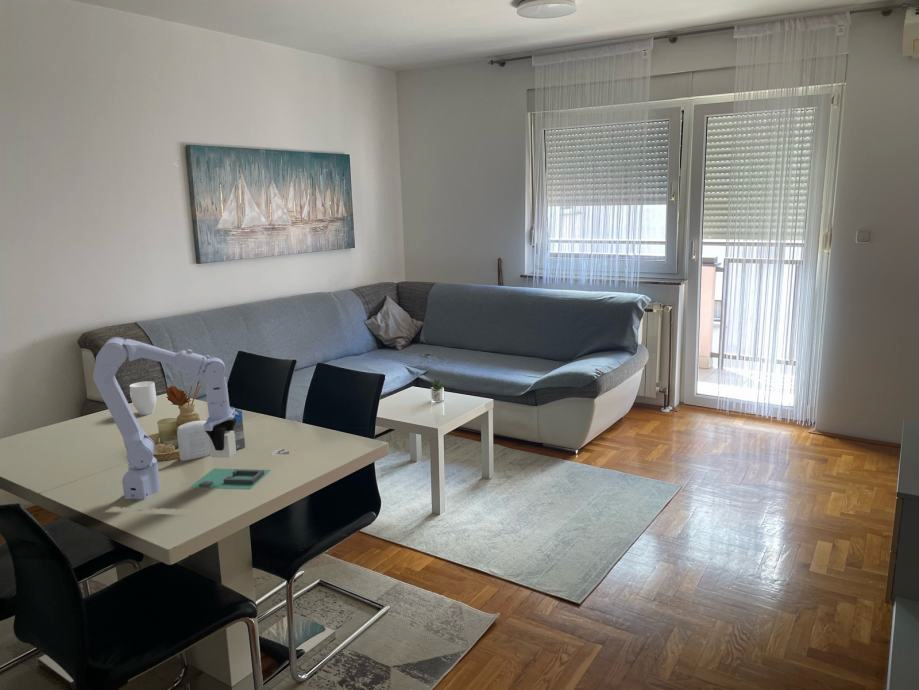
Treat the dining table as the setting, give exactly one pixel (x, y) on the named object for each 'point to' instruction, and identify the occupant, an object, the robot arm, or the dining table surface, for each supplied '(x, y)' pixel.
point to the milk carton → (239, 430)
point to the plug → (228, 446)
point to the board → (230, 478)
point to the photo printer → (193, 440)
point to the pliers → (279, 452)
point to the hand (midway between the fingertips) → (223, 447)
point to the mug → (143, 397)
